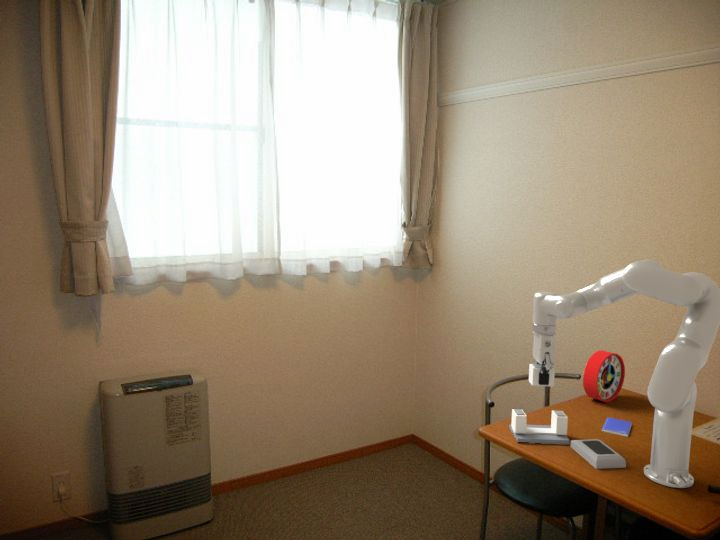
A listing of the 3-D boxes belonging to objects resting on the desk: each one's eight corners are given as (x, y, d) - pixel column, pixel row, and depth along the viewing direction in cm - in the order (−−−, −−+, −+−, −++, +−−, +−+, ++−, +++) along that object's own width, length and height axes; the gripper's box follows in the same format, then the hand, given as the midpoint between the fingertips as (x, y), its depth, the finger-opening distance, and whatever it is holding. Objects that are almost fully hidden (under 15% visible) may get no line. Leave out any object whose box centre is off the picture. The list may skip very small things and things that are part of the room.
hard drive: (628, 433, 182) (631, 422, 193) (602, 428, 187) (607, 417, 197) (627, 438, 182) (631, 426, 193) (601, 432, 187) (606, 421, 197)
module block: (553, 386, 177) (554, 368, 177) (532, 385, 178) (533, 367, 177) (549, 381, 182) (550, 363, 181) (528, 381, 183) (529, 363, 182)
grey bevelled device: (598, 436, 175) (626, 456, 160) (597, 446, 175) (625, 468, 161) (571, 437, 174) (596, 458, 159) (570, 447, 174) (595, 470, 159)
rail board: (569, 444, 176) (570, 420, 175) (517, 442, 176) (518, 418, 176) (558, 429, 187) (559, 406, 186) (509, 428, 188) (510, 405, 187)
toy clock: (594, 406, 210) (598, 357, 208) (581, 402, 215) (584, 353, 213) (623, 397, 221) (626, 350, 219) (610, 393, 226) (613, 347, 224)
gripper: (563, 335, 169) (560, 390, 171) (548, 323, 186) (545, 374, 188) (539, 334, 170) (536, 389, 172) (526, 323, 186) (523, 373, 188)
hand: (541, 381), depth 180 cm, fingers closed on module block, 5 cm apart
